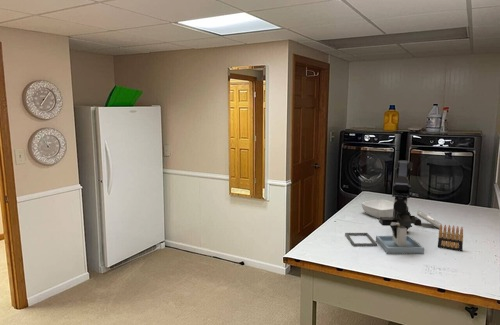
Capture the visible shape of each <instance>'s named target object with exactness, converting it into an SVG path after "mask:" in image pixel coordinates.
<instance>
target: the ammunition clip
mask: <svg viewBox="0 0 500 325" xmlns="http://www.w3.org/2000/svg"><path fill="white" fill-rule="evenodd" d="M438 229H439V228H438ZM463 244H464V227H463V226H461V227H460V228H459V226H458V225H457V226H456V228H455V225H453V226H452V228H451V225H450V224H449V225H448V226H447V224H444V226H443V224H442V223H441V225H440V229H439V231H438V241H437V249H444V250H450V251H455V252H463Z"/></svg>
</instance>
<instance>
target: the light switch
mask: <svg viewBox="0 0 500 325" xmlns="http://www.w3.org/2000/svg"><path fill="white" fill-rule="evenodd" d="M416 216H418V218H421V219H423V220H425V221H426V222H427V223H429V224H431V225H433V226H434V227H436V228H438V229H440V225H441V224H442V222H441V223H440V222H439V221H437V220H436V219H435V218H433V217H432V216H430V215H428V214H426V213H425V212H422V211H421V210H417V213H416Z"/></svg>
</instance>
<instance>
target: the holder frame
mask: <svg viewBox="0 0 500 325" xmlns="http://www.w3.org/2000/svg"><path fill="white" fill-rule="evenodd" d="M344 235H345V237H346V239H347V240H348V242H349V243H350V244H351V245H352V247H378V243H377V242H376V240H374V238H372V236H371V235H370V233H368V232H345V233H344ZM352 236H361V237H363V236H366V238H367V239H368V240H369V241H370V242H371V243H370V242H369V243H368V242H367V243H366V242H365V243H364V242H362V243H360V242H358V243H356V242H354V241H353V239H352V238H351V237H352Z"/></svg>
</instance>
